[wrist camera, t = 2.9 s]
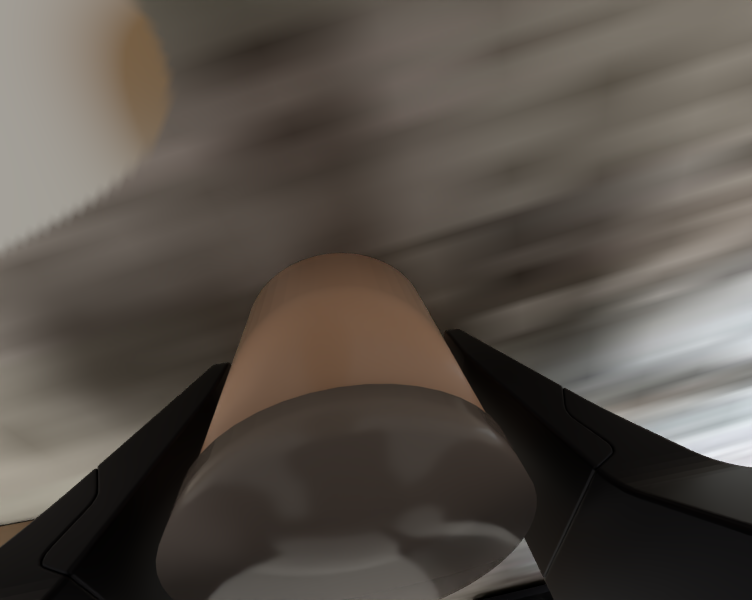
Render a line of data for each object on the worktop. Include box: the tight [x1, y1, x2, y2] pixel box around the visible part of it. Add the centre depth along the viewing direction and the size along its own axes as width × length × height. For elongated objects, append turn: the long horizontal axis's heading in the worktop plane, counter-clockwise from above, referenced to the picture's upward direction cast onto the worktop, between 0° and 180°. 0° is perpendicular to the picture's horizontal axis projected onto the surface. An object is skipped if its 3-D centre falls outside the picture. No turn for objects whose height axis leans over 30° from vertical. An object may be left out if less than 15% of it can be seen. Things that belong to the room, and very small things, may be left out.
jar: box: [156, 253, 537, 600], centre depth 8 cm, size 6×6×6 cm
